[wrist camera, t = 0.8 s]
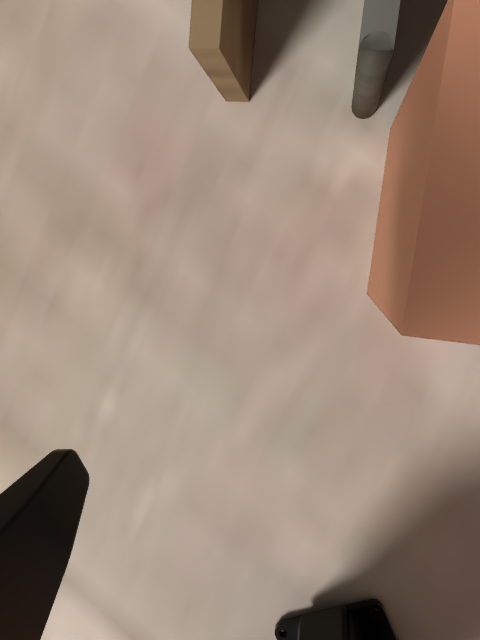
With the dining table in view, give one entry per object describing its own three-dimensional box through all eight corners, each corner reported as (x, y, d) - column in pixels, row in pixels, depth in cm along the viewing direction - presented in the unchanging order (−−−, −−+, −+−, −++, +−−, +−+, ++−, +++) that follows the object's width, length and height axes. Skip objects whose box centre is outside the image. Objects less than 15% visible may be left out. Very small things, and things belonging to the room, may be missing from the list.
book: (439, 301, 22) (556, 355, 10) (366, 293, 23) (401, 335, 11) (468, 132, 21) (639, -25, 9) (390, 128, 21) (457, -22, 10)
